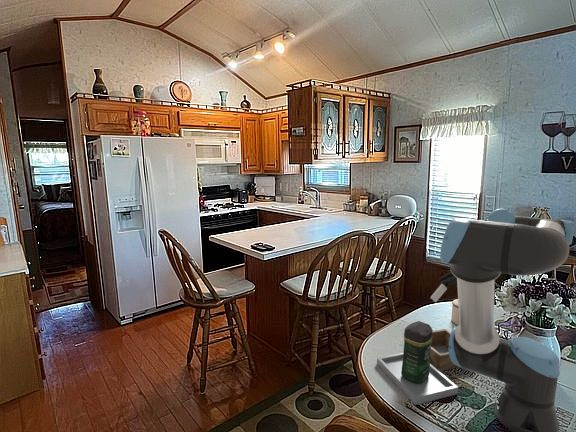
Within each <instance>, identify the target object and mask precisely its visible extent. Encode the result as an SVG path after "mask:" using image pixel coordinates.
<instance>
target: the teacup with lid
mask: <svg viewBox="0 0 576 432" xmlns="http://www.w3.org/2000/svg"><path fill="white" fill-rule="evenodd" d="M451 305H452V309H451V320H450V321H451V322H452V323H453V324H454V325H457V326H458V325H459V324H460V320H459V304H458V298H456V299H454V300H453V301H452V302H451Z"/></svg>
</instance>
